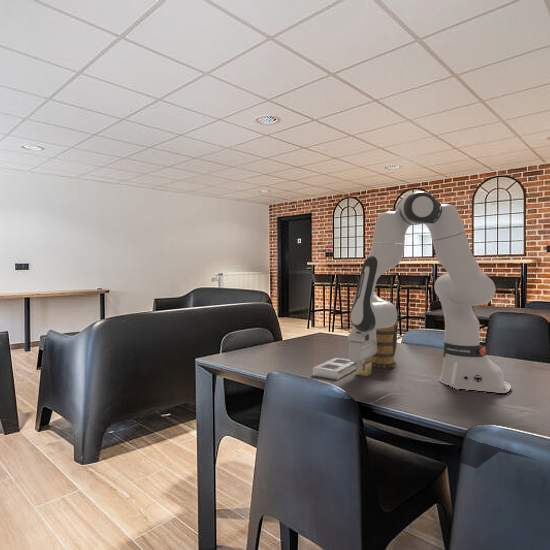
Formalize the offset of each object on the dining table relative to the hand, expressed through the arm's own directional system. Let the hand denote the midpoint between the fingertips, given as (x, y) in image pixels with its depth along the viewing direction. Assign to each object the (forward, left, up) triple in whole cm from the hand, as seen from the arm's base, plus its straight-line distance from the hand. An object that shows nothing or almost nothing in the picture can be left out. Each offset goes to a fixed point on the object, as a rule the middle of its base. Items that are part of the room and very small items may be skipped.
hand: (363, 369), depth 156 cm
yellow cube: (0, 0, -2) cm, 2 cm away
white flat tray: (+10, +3, -2) cm, 11 cm away
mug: (-2, -19, -2) cm, 19 cm away
